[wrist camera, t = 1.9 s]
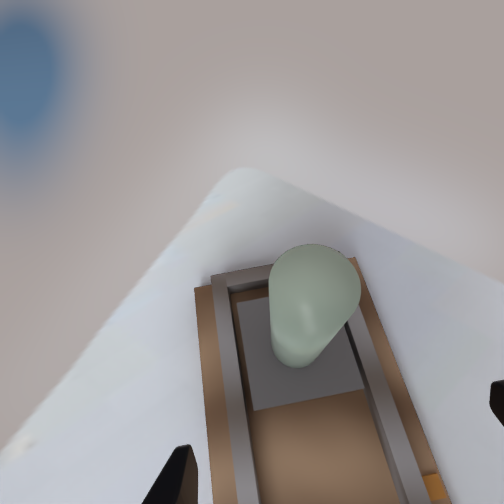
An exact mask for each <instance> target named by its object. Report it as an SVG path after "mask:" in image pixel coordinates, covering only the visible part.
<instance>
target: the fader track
mask: <svg viewBox="0 0 504 504" xmlns="http://www.w3.org/2000/svg"><path fill="white" fill-rule="evenodd" d="M338 252H339V251H338ZM339 253H340V252H339ZM348 260H349V261H350V262H351V263H352V265H353V266H354V268H355V269H356V271H357V273H358V276H359V279H360V284H361V297H360V301H359V304H358V306H357V308H356V310H355V311H354V313H353V314H352V315H351V317H350V318H349V319H348V320H347V321H346V323H345V324H344V327H345V330H346V333H347V336H348V339H349V342H350V345H351V348H352V351H353V354H354V357H355V360H356V363H357V366H358V369H359V372H360V375H361V378H362V382H363V385H364V389H360V390H355V391H350V392H345V393H340V394H335V395H331V396H326V397H321V398H316V399H311V400H306V401H301V402H296V403H291V404H286V405H281V406H276V407H271V408H266V409H261V410H257V411H254V409H253V403H252V397H251V390H250V384H249V378H248V372H247V365H246V359H245V353H244V346H243V340H242V334H241V328H240V321H239V315H238V309H237V303H239V302H244V301H249V300H255V299H260V298H265V297H269V276H270V272H271V269H272V267H273V265H274V264H270V265H264V266H259V267H254V268H249V269H243V270H238V271H233V272H228V273H222V274H217V275H212V276H211V283H212V285H207V286H201V287H196V288H194V292H195V303H196V314H197V325H198V337H199V348H200V359H201V370H202V381H203V393H204V404H205V415H206V426H207V437H208V449H209V460H210V471H211V482H212V493H213V504H452V503H451V501H450V498H449V496H448V493H447V491H446V488H445V485H444V483H443V480H442V478H441V475H440V473H439V470H438V468H437V465H436V462H435V460H434V457H433V455H432V452H431V450H430V447H429V445H428V442H427V439H426V437H425V434H424V432H423V429H422V427H421V424H420V422H419V419H418V416H417V414H416V411H415V409H414V406H413V404H412V401H411V399H410V396H409V393H408V391H407V388H406V386H405V383H404V381H403V378H402V376H401V373H400V370H399V368H398V365H397V363H396V360H395V358H394V355H393V352H392V350H391V347H390V345H389V342H388V340H387V337H386V335H385V332H384V329H383V327H382V324H381V322H380V319H379V317H378V314H377V312H376V309H375V306H374V304H373V301H372V299H371V296H370V294H369V291H368V289H367V286H366V283H365V281H364V278H363V276H362V273H361V271H360V268H359V266H358V263H357V260H356V258H355V257H353V258H348Z"/></svg>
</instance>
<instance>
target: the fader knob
mask: <svg viewBox="0 0 504 504" xmlns="http://www.w3.org/2000/svg"><path fill="white" fill-rule="evenodd" d="M360 297H361V284H360V279H359V276H358V273H357V271H356V269H355V268H354V266H353V265H352V263H351V262H350V261H349V260H348V259H347V258H346V257H345V256H344V255H342V254H341V253H339V252H338V251H336V250H334V249H332V248H329V247H326V246H322V245H316V244H307V245H301V246H297V247H294V248H292V249H290V250H288V251H286V252H285V253H284V254H282V255H281V256H280V257H279V258H278V259H277V261H276V262H275V264H274V265H273V267H272V269H271V272H270V276H269V297H265V298H260V299H255V300H249V301H244V302H239V303H237V309H238V315H239V321H240V328H241V334H242V340H243V346H244V353H245V359H246V365H247V372H248V378H249V384H250V390H251V397H252V403H253V409H254V411H257V410H261V409H266V408H271V407H276V406H281V405H286V404H291V403H296V402H301V401H306V400H311V399H316V398H321V397H326V396H331V395H335V394H340V393H345V392H350V391H355V390H360V389H364V385H363V382H362V378H361V375H360V372H359V369H358V366H357V363H356V360H355V357H354V354H353V351H352V348H351V345H350V342H349V339H348V336H347V333H346V330H345V327H344V324H345V323H346V321H347V320H348V319H349V318H350V317H351V315H352V314H353V313H354V311H355V310H356V308H357V306H358V304H359V301H360Z"/></svg>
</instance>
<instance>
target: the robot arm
mask: <svg viewBox="0 0 504 504" xmlns="http://www.w3.org/2000/svg"><path fill="white" fill-rule="evenodd" d="M489 404H490V407H491V410H492V412H493V413H494V414H495V416H496V417H497V418H498V420H499V421H500V422H501V424H502V425H503V426H504V380H499V381H494V382H493V383H492V384H491V389H490V401H489ZM142 504H198V467H197V463H196V459H195V456H194V453H193V450H192V447H191V445H189V444H187V445H182V446H178V447H176V448H175V449H174V451H173V453H172V454H171V456H170V458H169V459H168V461H167V463H166V464H165V466H164V467H163V469H162V471H161V472H160V474H159V476H158V477H157V479H156V481H155V482H154V484H153V486H152V487H151V489H150V491H149V492H148V494H147V496H146V497H145V499H144V501H143V502H142Z"/></svg>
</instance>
